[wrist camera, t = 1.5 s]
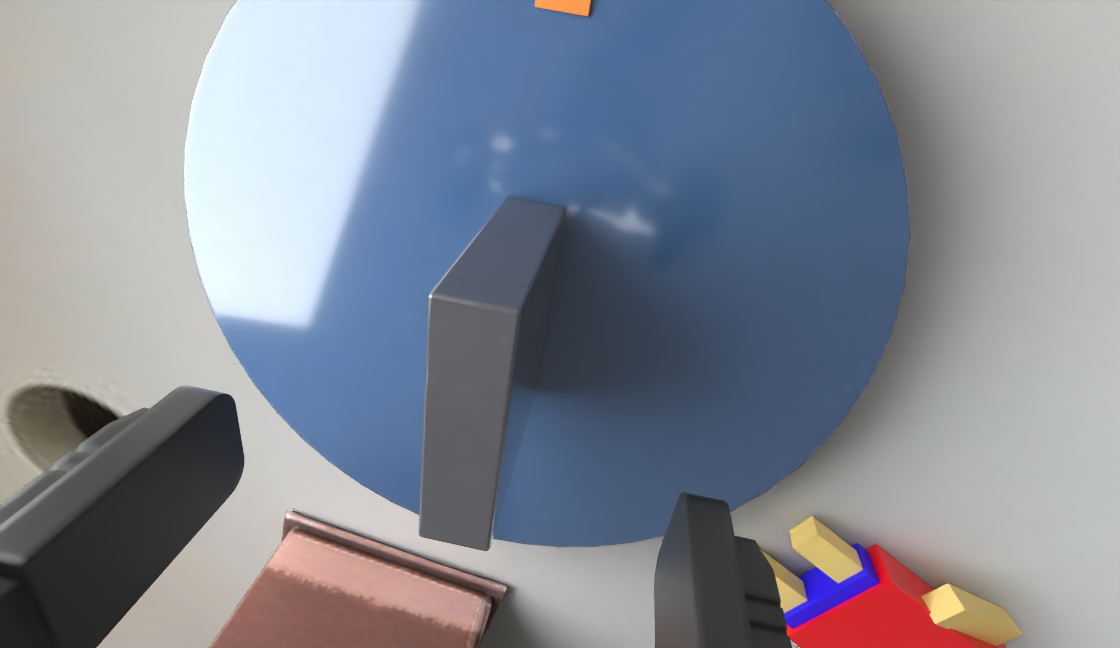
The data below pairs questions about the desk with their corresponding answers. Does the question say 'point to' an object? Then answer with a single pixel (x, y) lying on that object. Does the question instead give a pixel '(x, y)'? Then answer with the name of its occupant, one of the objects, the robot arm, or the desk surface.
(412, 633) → the desk organizer
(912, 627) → the toy figure
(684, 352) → the turntable dial
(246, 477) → the desk surface
